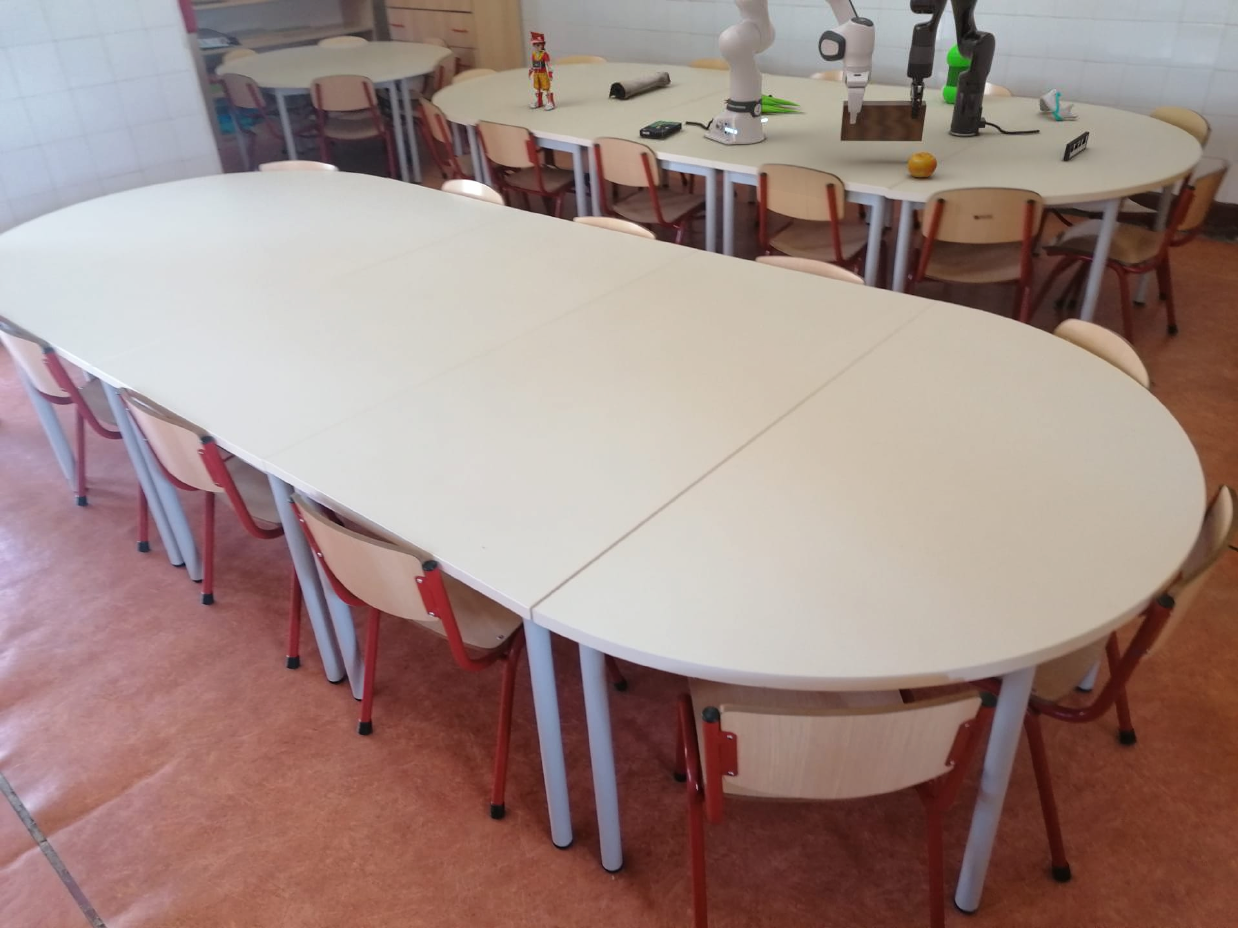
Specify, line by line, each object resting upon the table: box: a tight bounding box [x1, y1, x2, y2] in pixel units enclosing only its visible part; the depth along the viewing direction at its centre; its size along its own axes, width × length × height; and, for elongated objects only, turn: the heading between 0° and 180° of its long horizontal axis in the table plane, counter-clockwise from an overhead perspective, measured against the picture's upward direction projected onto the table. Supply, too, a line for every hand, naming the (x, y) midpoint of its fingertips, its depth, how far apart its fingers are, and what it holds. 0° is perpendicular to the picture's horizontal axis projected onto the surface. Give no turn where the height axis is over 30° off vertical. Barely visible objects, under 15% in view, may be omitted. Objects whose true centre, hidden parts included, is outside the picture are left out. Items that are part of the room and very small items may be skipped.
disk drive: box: [639, 120, 683, 140], centre depth 338 cm, size 10×3×15 cm
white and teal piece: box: [1038, 88, 1078, 121], centre depth 328 cm, size 15×10×10 cm
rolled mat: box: [608, 71, 672, 101], centre depth 395 cm, size 30×9×10 cm
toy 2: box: [761, 93, 804, 114], centre depth 358 cm, size 28×5×30 cm
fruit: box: [907, 151, 938, 179], centre depth 280 cm, size 8×8×8 cm
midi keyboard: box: [1062, 131, 1091, 161], centre depth 291 cm, size 18×1×5 cm, turn 138°
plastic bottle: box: [942, 43, 971, 104], centre depth 348 cm, size 10×10×25 cm
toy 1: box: [527, 31, 556, 111], centre depth 374 cm, size 12×9×30 cm
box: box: [839, 100, 927, 142], centre depth 289 cm, size 26×6×11 cm, turn 78°
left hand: (852, 120), depth 291 cm, fingers closed on box, 6 cm apart
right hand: (913, 115), depth 287 cm, fingers open, 7 cm apart
